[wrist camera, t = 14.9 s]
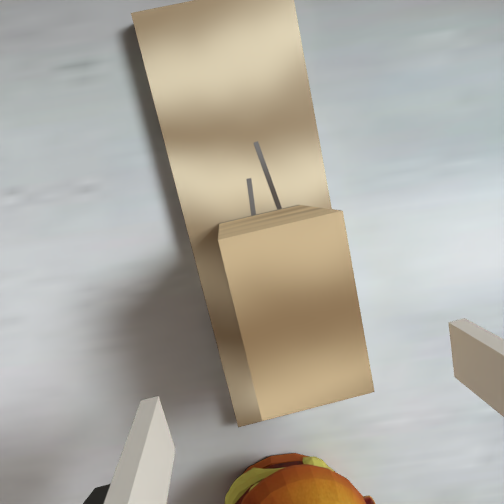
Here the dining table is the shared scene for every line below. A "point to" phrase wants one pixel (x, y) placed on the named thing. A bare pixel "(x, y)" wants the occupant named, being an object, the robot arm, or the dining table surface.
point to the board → (232, 136)
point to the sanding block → (296, 307)
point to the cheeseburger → (293, 483)
